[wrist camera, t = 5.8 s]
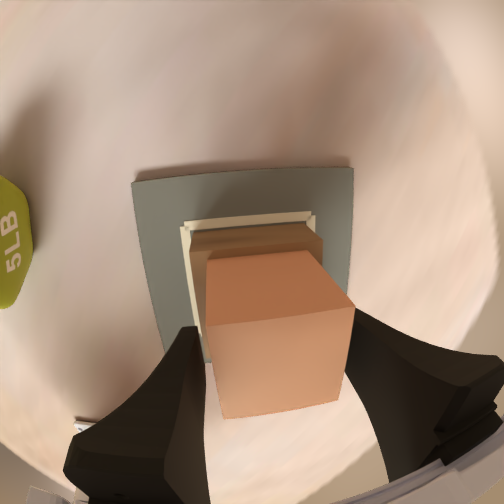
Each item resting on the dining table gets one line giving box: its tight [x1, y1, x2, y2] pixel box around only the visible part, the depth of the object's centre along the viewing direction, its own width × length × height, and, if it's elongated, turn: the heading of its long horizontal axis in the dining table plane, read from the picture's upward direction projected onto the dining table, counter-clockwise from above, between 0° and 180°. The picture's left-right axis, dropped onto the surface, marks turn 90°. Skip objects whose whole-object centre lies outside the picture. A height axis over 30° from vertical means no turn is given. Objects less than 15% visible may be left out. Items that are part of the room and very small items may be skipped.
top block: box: [206, 250, 355, 419], centre depth 11 cm, size 4×4×5 cm
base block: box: [189, 223, 323, 359], centre depth 15 cm, size 6×6×3 cm
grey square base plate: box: [131, 167, 354, 363], centre depth 17 cm, size 12×12×1 cm
